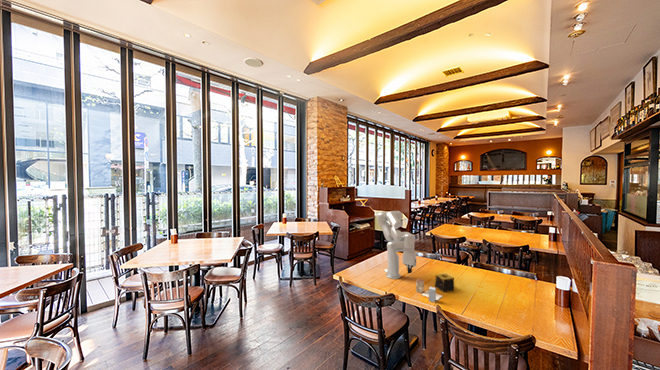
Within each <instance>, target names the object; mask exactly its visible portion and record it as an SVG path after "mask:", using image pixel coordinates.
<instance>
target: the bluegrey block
mask: <svg viewBox="0 0 660 370" xmlns="http://www.w3.org/2000/svg"><path fill="white" fill-rule="evenodd" d="M436 288H437V287H435V286H434V287H432V286H429V288H428V291H429V298H428V302H430V301H431V303H436V301H437V300H436V294H437V290H436ZM435 300H436V301H435Z"/></svg>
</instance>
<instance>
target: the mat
mask: <svg viewBox="0 0 660 370" xmlns="http://www.w3.org/2000/svg"><path fill="white" fill-rule="evenodd" d="M420 294H421V296H422V295H423V297H425V296H426V298H428V297H429V290H426V291H424V292H422V293H420ZM441 298H443V295H441V294H438V293H436V301H439V300H440V299H441Z"/></svg>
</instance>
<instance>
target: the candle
mask: <svg viewBox="0 0 660 370" xmlns="http://www.w3.org/2000/svg"><path fill="white" fill-rule="evenodd" d="M434 288H437V289H438V290H440V291H442V292H444V293H445V292H451V291H455V277H453V276H452V275H449V274H447V273H440V274H439V273H438V274H435V286H434Z"/></svg>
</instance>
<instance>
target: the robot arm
mask: <svg viewBox="0 0 660 370" xmlns="http://www.w3.org/2000/svg"><path fill="white" fill-rule="evenodd" d="M376 216H377V217H376V219H377V222H378V225H379V226H380V228H381V229H382V232H383V236H384V238H385V240H386V241H388V242H387V243H386V250H387V269H386V268H385V269H384V272H385V273H386V277H387V278H388V279H392V280H394V279H395V280H397V279H400V278H401V277H402V276H401V274H400V256H399V254H398V253H397V252H403V253H402V261H401V262H402V264H403V265H405V266H406V268H407V274H411V273H413V268H416V267H417V255H416V251H415V235H414V234H413V233H410V232H408V231H401V230H400V229H399V228H400V227H401V226H402V222H401V220H403V214H402V212H401V211H400V210H390V211H380V212H379V213H377V215H376ZM388 222H389V223H388Z"/></svg>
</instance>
